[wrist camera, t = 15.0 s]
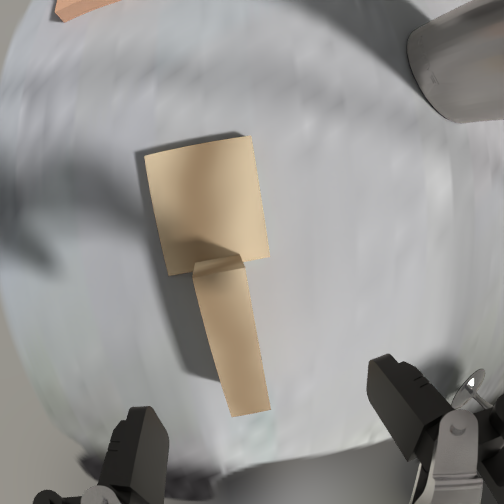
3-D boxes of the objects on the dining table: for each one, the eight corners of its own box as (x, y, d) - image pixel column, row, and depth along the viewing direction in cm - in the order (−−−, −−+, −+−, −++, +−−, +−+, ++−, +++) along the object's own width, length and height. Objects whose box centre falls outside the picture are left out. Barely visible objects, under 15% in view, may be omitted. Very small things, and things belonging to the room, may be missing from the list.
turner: (248, 138, 16) (258, 126, 12) (283, 372, 20) (296, 403, 16) (148, 157, 15) (131, 151, 12) (205, 387, 19) (206, 420, 16)
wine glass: (441, 418, 27) (496, 482, 12) (463, 375, 25) (532, 440, 10) (473, 401, 28) (525, 453, 14) (493, 360, 26) (556, 410, 12)
